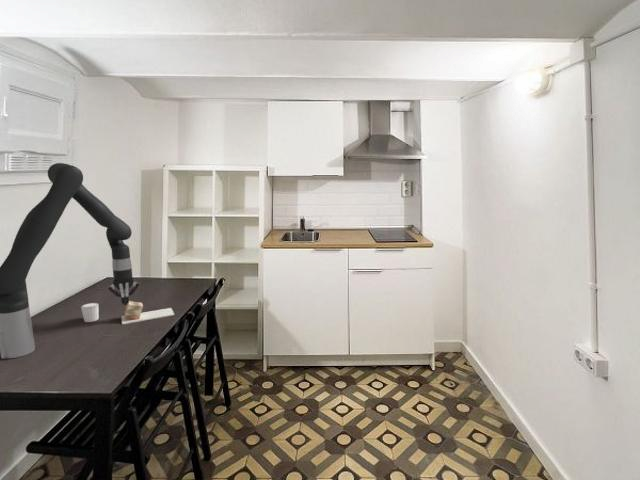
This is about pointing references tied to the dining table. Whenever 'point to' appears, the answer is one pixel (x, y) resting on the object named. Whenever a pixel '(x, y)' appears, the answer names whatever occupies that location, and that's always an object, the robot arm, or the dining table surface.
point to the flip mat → (148, 316)
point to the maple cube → (133, 310)
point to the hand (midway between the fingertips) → (125, 304)
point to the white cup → (90, 312)
